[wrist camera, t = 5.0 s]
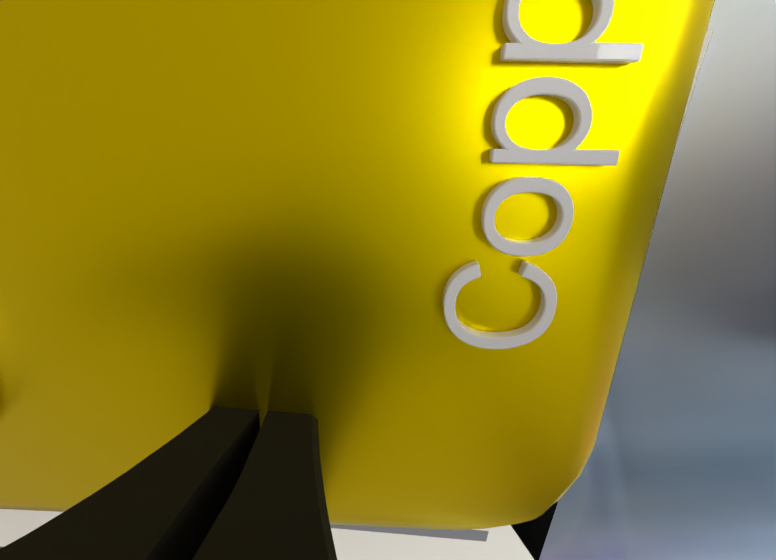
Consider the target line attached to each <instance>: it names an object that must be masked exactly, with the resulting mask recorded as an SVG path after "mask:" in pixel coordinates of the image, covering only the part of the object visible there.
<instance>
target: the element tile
mask: <svg viewBox="0 0 776 560" xmlns="http://www.w3.org/2000/svg"><path fill="white" fill-rule="evenodd" d="M714 1H715V0H0V509H12V510H33V511H55V512H64V511H66V510H68V509H69V508H71V507H72V506H74V505H76V504H77V503H79V502H81V501H82V500H84V499H85V498H87V497H89V496H90V495H92V494H93V493H95V492H96V491H98V490H99V489H101V488H103V487H104V486H106V485H107V484H109V483H110V482H112V481H113V480H115V479H116V478H118V477H119V476H121V475H122V474H124V473H125V472H127V471H128V470H129V469H131V468H132V467H134V466H135V465H136V464H138V463H139V462H141V461H142V460H143V459H145V458H146V457H148V456H149V455H150V454H152V453H153V452H155V451H156V450H157V449H159V448H160V447H162V446H163V445H164V444H166V443H167V442H169V441H170V440H171V439H173V438H174V437H176V436H177V435H178V434H180V433H181V432H182V431H184V430H185V429H186V428H187V427H189V426H190V425H191V424H193V423H194V422H195V421H197V420H198V419H199V418H200V417H202V416H203V415H204V414H206V413H207V412H208V411H209V410H211V409H212V408H213V407H215V406H218V407H231V408H242V409H254V410H259V419H260V428H261V425H262V423H263V421H264V418H265V416H266V413H267V411H278V412H290V413H302V414H312V415H313V416H314V417H315V418H316V419H317V420H318V431H319V447H320V460H321V469H322V477H323V484H324V492H325V498H326V504H327V510H328V516H329V521H330V524H332V525H354V526H375V527H397V528H418V529H439V530H472V529H486V528H494V527H500V526H507V525H513V524H518V523H522V522H526V521H530V520H534V519H536V518H537V517H539V516H541V515H542V514H543V513H544V512H545V511H546V510H547V509H549V508H550V507H551V506H552V505H553V504H554V503H556V502H557V501H559V499H560V498H561V497H562V496H563V495H564V494H565V492H566V491H567V490H568V489H569V488H570V487H571V485H572V484H573V483H574V482H575V481H576V480H577V478H578V477H579V476H580V475H581V473H582V471H583V469H584V467H585V465H586V463H587V460H588V458H589V456H590V454H591V452H592V450H593V448H594V445H595V441H596V438H597V434H598V430H599V426H600V423H601V419H602V415H603V412H604V408H605V404H606V401H607V397H608V393H609V389H610V386H611V382H612V378H613V375H614V371H615V367H616V364H617V360H618V356H619V352H620V349H621V345H622V341H623V338H624V334H625V330H626V327H627V323H628V319H629V315H630V312H631V308H632V304H633V301H634V297H635V293H636V290H637V286H638V282H639V278H640V275H641V271H642V267H643V264H644V260H645V256H646V253H647V249H648V245H649V241H650V238H651V234H652V230H653V227H654V223H655V219H656V216H657V212H658V208H659V204H660V201H661V197H662V193H663V190H664V186H665V182H666V179H667V175H668V171H669V167H670V164H671V160H672V156H673V153H674V149H675V145H676V142H677V138H678V134H679V130H680V127H681V123H682V119H683V116H684V112H685V108H686V105H687V101H688V97H689V93H690V90H691V86H692V82H693V79H694V75H695V71H696V68H697V64H698V60H699V56H700V53H701V49H702V45H703V42H704V38H705V34H706V31H707V27H708V23H709V19H710V16H711V12H712V8H713V5H714Z"/></svg>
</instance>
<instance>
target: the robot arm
mask: <svg viewBox="0 0 776 560" xmlns="http://www.w3.org/2000/svg"><path fill="white" fill-rule="evenodd" d="M0 560H337V556H336V551H335V546H334V541H333V536H332V532H331V527H330V521H329V516H328V510H327V504H326V498H325V492H324V484H323V477H322V469H321V460H320V447H319V431H318V420H317V419H316V418H315V417H314V416H313V415H312V414H302V413H290V412H278V411H267V413H266V416H265V418H264V421H263V423H262V425H261V428H260V419H259V410H254V409H242V408H231V407H218V406H215V407H213V408H212V409H211V410H209V411H208V412H207V413H206V414H204V415H203V416H202V417H200V418H199V419H198V420H197V421H195V422H194V423H193V424H191V425H190V426H189V427H187V428H186V429H185V430H184V431H182V432H181V433H180V434H178V435H177V436H176V437H174V438H173V439H171V440H170V441H169V442H167V443H166V444H164V445H163V446H162V447H160V448H159V449H157V450H156V451H155V452H153V453H152V454H150V455H149V456H148V457H146V458H145V459H143V460H142V461H141V462H139V463H138V464H136V465H135V466H134V467H132V468H131V469H129V470H128V471H127V472H125V473H124V474H122V475H121V476H119V477H118V478H116V479H115V480H113V481H112V482H110V483H109V484H107V485H106V486H104V487H103V488H101V489H99V490H98V491H96V492H95V493H93V494H92V495H90V496H89V497H87V498H85V499H84V500H82V501H81V502H79V503H77V504H76V505H74V506H72V507H71V508H69V509H68V510H66V511H64V512H63V513H61V514H59V515H58V516H56V517H55V518H53V519H51V520H50V521H48V522H47V523H45V524H43V525H41V526H40V527H38V528H36V529H35V530H33V531H31V532H30V533H28V534H26V535H24V536H23V537H21V538H19V539H17V540H16V541H14V542H12V543H10V544H8V545H7V546H5V547H3V548H1V549H0Z"/></svg>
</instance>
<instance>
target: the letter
mask: <svg viewBox="0 0 776 560" xmlns="http://www.w3.org/2000/svg"><path fill="white" fill-rule="evenodd" d="M712 33H713V30H707V31H706V34H705V38H704V42H703V45H702V49H701V53H700V56H699V60H698V64H697V68H696V71H695V75H694V79H693V82H692V86H691V90H690V93H689V97H688V101H687V105H686V108H685V112H684V116H683V119H682V123H681V127H682V124H683V121H684V118H685V115H686V111H687V108H688V105H689V102H690V99H691V96H692V93H693V90H694V87H695V84H696V81H697V78H698V75H699V72H700V69H701V66H702V63H703V60H704V57H705V54H706V51H707V48H708V45H709V42H710V39H711V36H712ZM681 127H680V130H681ZM680 130H679V133H680ZM678 136H679V134H678ZM677 139H678V138H677ZM557 503H558V501H557V502H556V503H554V504H553V505H552V506H551V507H550V508H549V509H547V510H546V511H545V512H544V513H543V514H542V515H541V516H539V517H537V518H536V519H534V520H530V521H526V522H522V523H518V524H513V525H507V526H500V527H494V528H486V529H472V530H439V529H418V528H397V527H375V526H354V525H332V524H330V527H331V532H332V536H333V541H334V546H335V551H336V556H337V560H539V558H540V555H541V552H542V548H543V545H544V542H545V539H546V536H547V533H548V530H549V527H550V524H551V521H552V518H553V515H554V512H555V509H556V506H557ZM61 513H63V512H55V511H33V510H12V509H0V546H3V547H5V546H7V545H8V544H10V543H12V542H14V541H16V540H17V539H19V538H21V537H23V536H24V535H26V534H28V533H30V532H31V531H33V530H35V529H36V528H38V527H40V526H41V525H43V524H45V523H47V522H48V521H50V520H51V519H53V518H55V517H56V516H58V515H59V514H61Z"/></svg>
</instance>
